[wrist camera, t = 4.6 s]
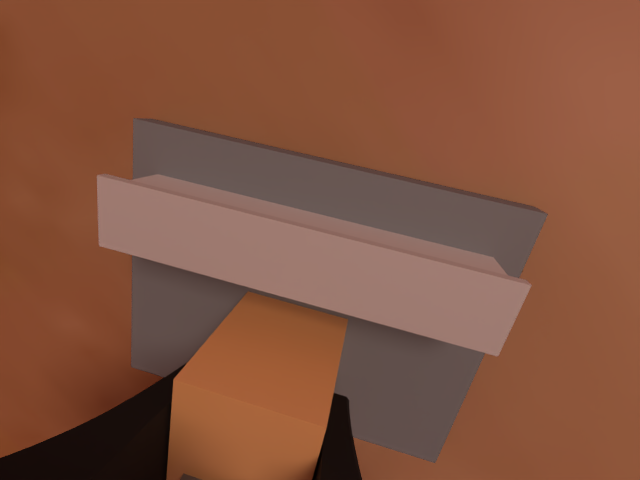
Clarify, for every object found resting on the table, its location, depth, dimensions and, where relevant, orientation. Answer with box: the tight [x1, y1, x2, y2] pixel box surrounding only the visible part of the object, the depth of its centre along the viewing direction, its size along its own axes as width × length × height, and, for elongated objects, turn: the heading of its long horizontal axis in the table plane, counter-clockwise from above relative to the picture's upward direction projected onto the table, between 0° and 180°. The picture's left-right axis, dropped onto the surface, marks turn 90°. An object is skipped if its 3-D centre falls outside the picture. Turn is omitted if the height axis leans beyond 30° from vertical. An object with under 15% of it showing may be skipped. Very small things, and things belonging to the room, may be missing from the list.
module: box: [166, 291, 348, 480], centre depth 11 cm, size 4×5×5 cm
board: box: [97, 118, 548, 463], centre depth 12 cm, size 14×11×4 cm
